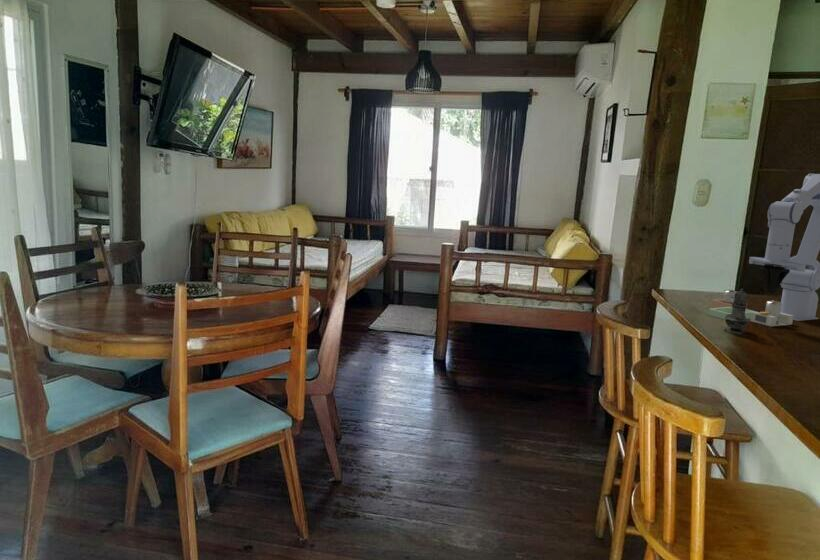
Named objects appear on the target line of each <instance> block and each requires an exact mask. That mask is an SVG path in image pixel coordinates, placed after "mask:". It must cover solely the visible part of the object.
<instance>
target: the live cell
mask: <svg viewBox="0 0 820 560" xmlns="http://www.w3.org/2000/svg"><path fill="white" fill-rule="evenodd" d="M781 306H782V303H781V301H778V300H767V301H766V303H765V310H764V312H768V315H771V316H775V317H777V319H776V324H779V318H780V312H781Z"/></svg>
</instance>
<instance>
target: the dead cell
mask: <svg viewBox="0 0 820 560" xmlns="http://www.w3.org/2000/svg"><path fill="white" fill-rule="evenodd" d="M736 292H737V291H736V290H733V289H728V290H727V289H726V290H725V289H724V290H723V302H724V303H728V304H733V303H734V296H735V293H736Z"/></svg>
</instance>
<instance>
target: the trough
mask: <svg viewBox="0 0 820 560" xmlns="http://www.w3.org/2000/svg"><path fill="white" fill-rule="evenodd" d="M731 312H732V307H722V308H711V307H710V308H709V307H708V308H707V311H706V315H707V316H710V317H714V318H717V319H720V320H724V321H726V319H725V317H726V316H729V315H731ZM751 312H757V311H756V310H751V309H748V308H746V310H745V317H746V318H747V319H749V320H750V318H751Z"/></svg>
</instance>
